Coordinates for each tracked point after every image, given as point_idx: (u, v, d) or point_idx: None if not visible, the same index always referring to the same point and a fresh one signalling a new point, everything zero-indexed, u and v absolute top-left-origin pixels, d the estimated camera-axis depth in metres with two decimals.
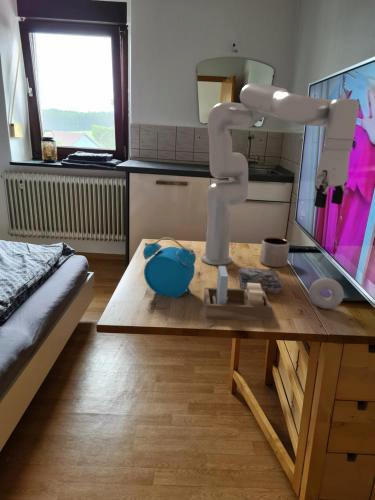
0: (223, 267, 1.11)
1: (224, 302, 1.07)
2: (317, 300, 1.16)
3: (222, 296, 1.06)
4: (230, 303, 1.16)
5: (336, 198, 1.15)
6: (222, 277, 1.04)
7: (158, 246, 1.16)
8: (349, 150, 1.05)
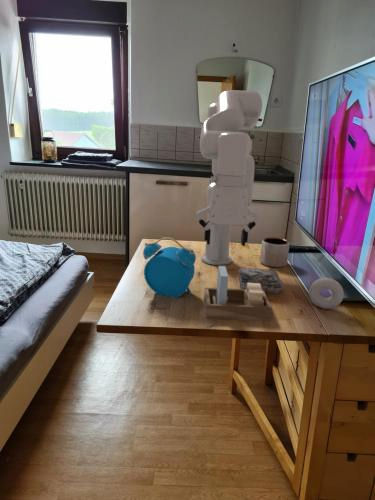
0: (223, 267, 1.11)
1: (224, 302, 1.07)
2: (317, 300, 1.16)
3: (222, 296, 1.06)
4: (230, 303, 1.16)
5: None
6: (222, 277, 1.04)
7: (158, 246, 1.16)
8: None
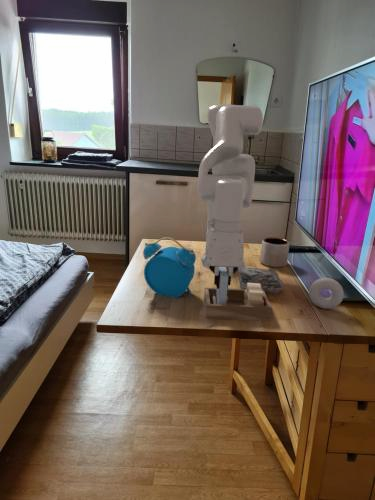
0: None
1: (224, 302, 1.07)
2: (317, 300, 1.16)
3: (222, 296, 1.06)
4: (230, 303, 1.16)
5: None
6: (222, 277, 1.04)
7: (158, 246, 1.16)
8: None
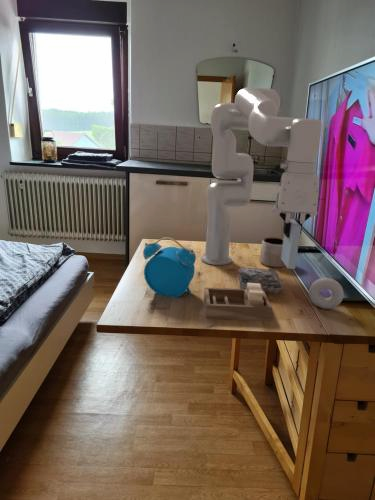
0: (291, 219, 1.06)
1: (295, 254, 1.02)
2: (317, 300, 1.16)
3: (293, 248, 1.02)
4: (230, 303, 1.16)
5: None
6: (295, 227, 1.00)
7: (158, 246, 1.16)
8: None
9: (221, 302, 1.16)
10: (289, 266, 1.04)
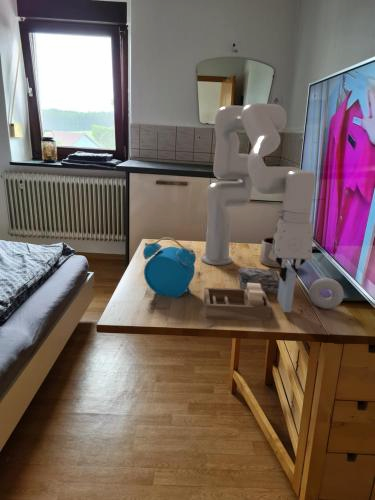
0: (287, 264, 1.10)
1: (291, 299, 1.07)
2: (317, 300, 1.16)
3: (289, 293, 1.06)
4: (230, 303, 1.16)
5: None
6: (290, 274, 1.04)
7: (158, 246, 1.16)
8: None
9: (221, 302, 1.16)
10: (285, 310, 1.08)
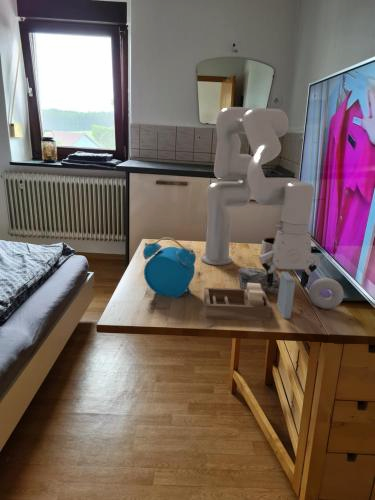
0: (286, 273, 1.11)
1: (290, 308, 1.07)
2: (317, 300, 1.16)
3: (288, 302, 1.07)
4: (230, 303, 1.16)
5: None
6: (289, 283, 1.05)
7: (158, 246, 1.16)
8: None
9: (221, 302, 1.16)
10: None
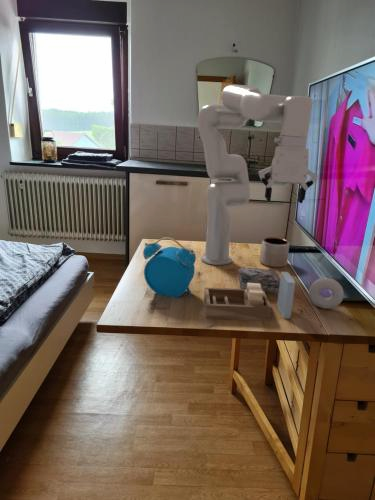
0: (286, 273, 1.11)
1: (290, 308, 1.07)
2: (317, 300, 1.16)
3: (288, 302, 1.07)
4: (230, 303, 1.16)
5: None
6: (289, 283, 1.05)
7: (158, 246, 1.16)
8: None
9: (221, 302, 1.16)
10: None
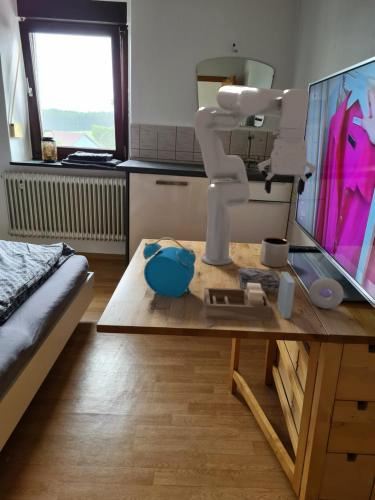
0: (286, 273, 1.11)
1: (290, 308, 1.07)
2: (317, 300, 1.16)
3: (288, 302, 1.07)
4: (230, 303, 1.16)
5: None
6: (289, 283, 1.05)
7: (158, 246, 1.16)
8: None
9: (221, 302, 1.16)
10: None
